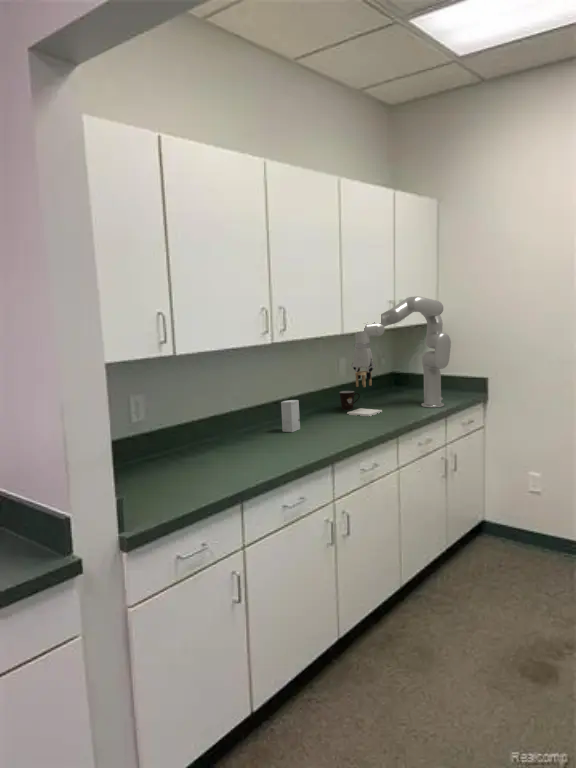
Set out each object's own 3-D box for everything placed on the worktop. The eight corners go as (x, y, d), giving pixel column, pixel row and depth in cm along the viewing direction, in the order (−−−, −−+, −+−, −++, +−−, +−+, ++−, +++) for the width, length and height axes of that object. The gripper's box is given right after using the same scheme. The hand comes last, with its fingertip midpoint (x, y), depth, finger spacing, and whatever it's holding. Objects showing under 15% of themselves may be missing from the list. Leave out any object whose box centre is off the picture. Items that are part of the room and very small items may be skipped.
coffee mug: (339, 410, 338) (339, 393, 336) (340, 407, 346) (339, 391, 345) (360, 410, 336) (359, 392, 335) (360, 407, 345) (359, 390, 343)
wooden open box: (355, 386, 321) (355, 372, 320) (363, 384, 328) (362, 370, 327) (364, 387, 318) (364, 372, 317) (371, 385, 324) (371, 370, 323)
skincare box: (292, 432, 284) (291, 402, 282) (281, 431, 287) (280, 401, 285) (300, 429, 291) (299, 399, 289) (290, 428, 294) (288, 399, 292)
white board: (360, 410, 335) (360, 408, 334) (382, 412, 326) (382, 410, 326) (347, 414, 324) (347, 412, 324) (369, 416, 315) (369, 414, 315)
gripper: (345, 346, 322) (346, 379, 325) (373, 346, 312) (374, 380, 314) (352, 345, 328) (353, 377, 331) (380, 345, 318) (380, 379, 320)
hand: (363, 378), depth 322 cm, fingers closed on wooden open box, 5 cm apart
